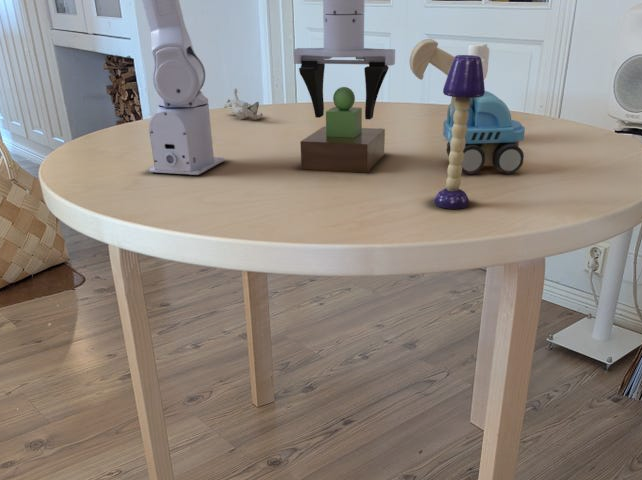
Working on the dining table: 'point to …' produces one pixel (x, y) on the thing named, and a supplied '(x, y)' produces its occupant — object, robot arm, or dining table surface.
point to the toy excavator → (476, 119)
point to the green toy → (344, 115)
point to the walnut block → (343, 151)
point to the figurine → (480, 55)
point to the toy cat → (243, 108)
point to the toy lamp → (460, 123)
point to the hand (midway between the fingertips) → (344, 117)
